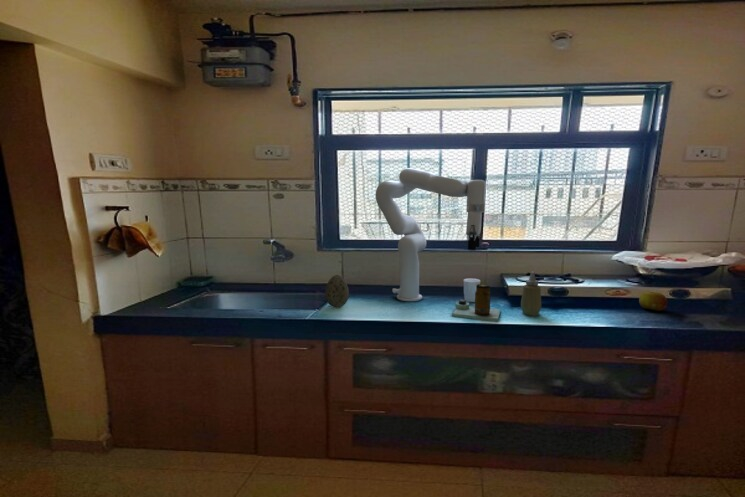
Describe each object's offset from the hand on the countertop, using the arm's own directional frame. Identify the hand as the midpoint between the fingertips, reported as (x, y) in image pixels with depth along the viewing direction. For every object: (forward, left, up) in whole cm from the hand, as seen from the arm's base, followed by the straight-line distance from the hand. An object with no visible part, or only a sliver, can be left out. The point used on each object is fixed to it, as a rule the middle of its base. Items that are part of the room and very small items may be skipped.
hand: (473, 248), depth 154 cm
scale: (+3, -8, -27) cm, 28 cm away
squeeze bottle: (+24, 0, -27) cm, 36 cm away
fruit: (+72, +24, -27) cm, 81 cm away
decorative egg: (-57, -21, -27) cm, 67 cm away
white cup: (-2, +12, -27) cm, 30 cm away
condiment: (+6, -10, -26) cm, 29 cm away
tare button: (-4, -5, -25) cm, 25 cm away
